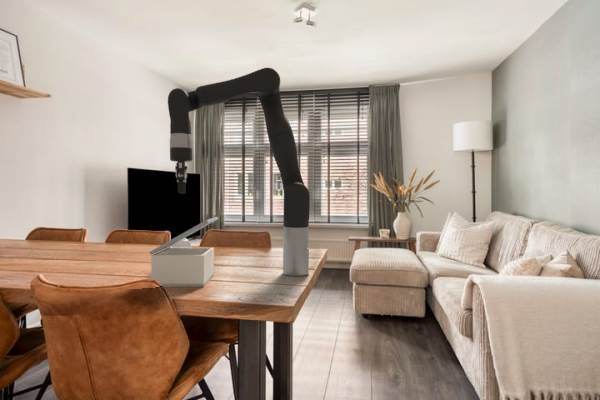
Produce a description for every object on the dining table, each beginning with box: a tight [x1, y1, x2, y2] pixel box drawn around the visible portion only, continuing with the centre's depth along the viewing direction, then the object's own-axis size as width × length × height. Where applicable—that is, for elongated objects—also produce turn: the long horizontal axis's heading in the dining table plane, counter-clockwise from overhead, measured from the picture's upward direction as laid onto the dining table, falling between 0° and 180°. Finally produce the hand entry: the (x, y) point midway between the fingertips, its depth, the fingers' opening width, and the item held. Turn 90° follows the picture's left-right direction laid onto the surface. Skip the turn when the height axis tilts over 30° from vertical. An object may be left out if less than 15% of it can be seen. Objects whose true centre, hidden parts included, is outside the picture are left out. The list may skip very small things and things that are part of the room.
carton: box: [150, 247, 215, 288], centre depth 118 cm, size 16×16×10 cm
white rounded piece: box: [171, 237, 192, 248], centre depth 134 cm, size 10×4×12 cm, turn 39°
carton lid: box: [149, 216, 219, 255], centre depth 117 cm, size 20×17×1 cm
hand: (181, 193), depth 126 cm, fingers open, 8 cm apart
